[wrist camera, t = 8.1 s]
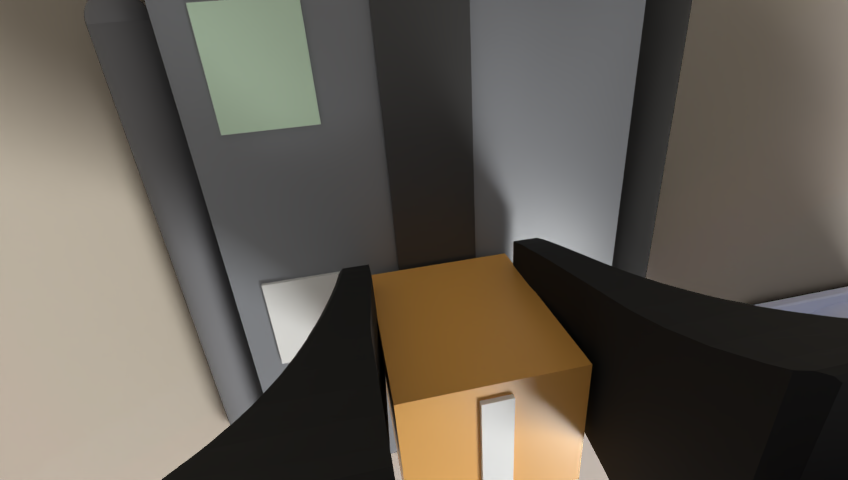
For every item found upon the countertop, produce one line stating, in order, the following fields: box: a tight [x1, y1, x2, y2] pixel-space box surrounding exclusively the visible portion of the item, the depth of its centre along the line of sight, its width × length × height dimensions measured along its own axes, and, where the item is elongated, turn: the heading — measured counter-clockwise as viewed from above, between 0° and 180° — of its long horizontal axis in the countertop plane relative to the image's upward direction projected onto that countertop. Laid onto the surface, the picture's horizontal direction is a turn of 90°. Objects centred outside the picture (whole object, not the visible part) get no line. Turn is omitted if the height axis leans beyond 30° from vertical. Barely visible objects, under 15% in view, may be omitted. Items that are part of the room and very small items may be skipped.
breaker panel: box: [144, 0, 646, 453], centre depth 12 cm, size 15×10×2 cm, turn 4°
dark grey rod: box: [612, 0, 692, 278], centre depth 14 cm, size 13×1×1 cm, turn 4°
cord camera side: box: [84, 0, 263, 425], centre depth 12 cm, size 13×1×1 cm, turn 4°
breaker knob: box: [372, 253, 592, 480], centre depth 10 cm, size 3×4×4 cm
